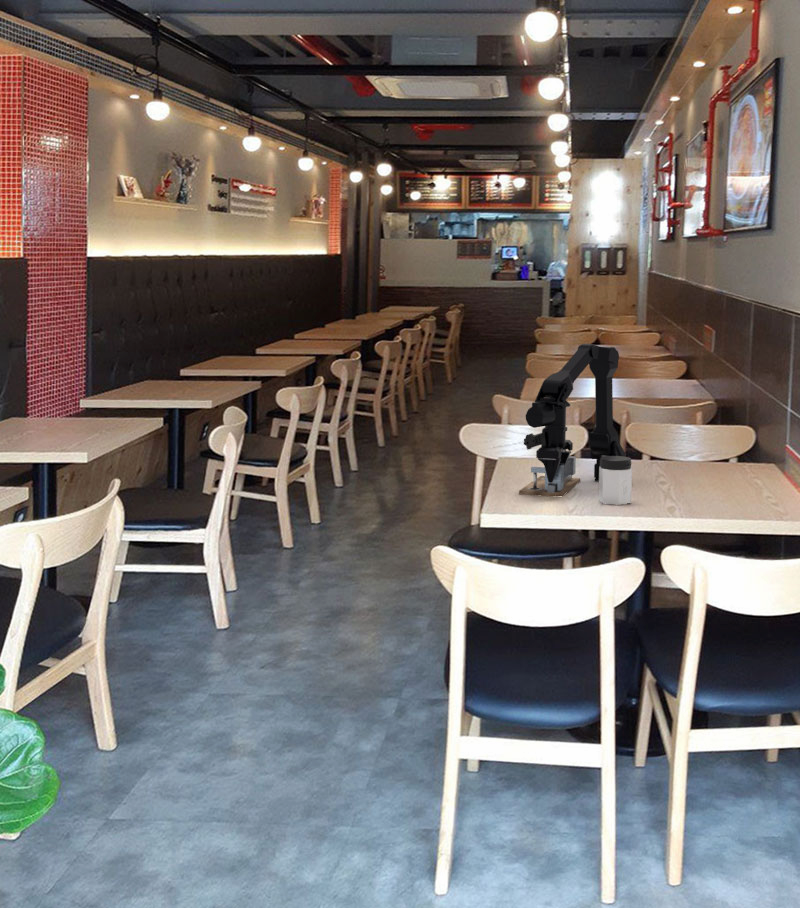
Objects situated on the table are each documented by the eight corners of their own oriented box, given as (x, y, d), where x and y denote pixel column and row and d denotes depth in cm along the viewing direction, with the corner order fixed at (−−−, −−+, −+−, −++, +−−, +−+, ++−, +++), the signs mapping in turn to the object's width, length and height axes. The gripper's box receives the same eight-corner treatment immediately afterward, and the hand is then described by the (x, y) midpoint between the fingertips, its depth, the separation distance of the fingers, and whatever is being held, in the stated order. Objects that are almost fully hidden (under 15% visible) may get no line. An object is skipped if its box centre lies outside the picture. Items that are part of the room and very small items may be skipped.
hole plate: (580, 481, 343) (580, 477, 343) (561, 497, 320) (561, 492, 320) (540, 479, 347) (540, 475, 347) (519, 494, 324) (519, 490, 324)
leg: (563, 488, 325) (564, 463, 324) (560, 490, 322) (560, 466, 321) (533, 486, 328) (533, 462, 327) (529, 488, 325) (530, 464, 324)
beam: (576, 479, 341) (576, 455, 340) (558, 493, 320) (559, 468, 319) (546, 477, 344) (547, 454, 343) (527, 491, 323) (528, 466, 322)
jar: (613, 506, 307) (614, 461, 305) (591, 501, 314) (593, 457, 312) (637, 502, 312) (639, 458, 310) (616, 497, 318) (617, 454, 317)
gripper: (535, 418, 333) (534, 472, 335) (518, 427, 316) (517, 483, 318) (573, 420, 329) (572, 474, 331) (558, 428, 312) (557, 486, 314)
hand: (554, 479), depth 324 cm, fingers open, 9 cm apart
